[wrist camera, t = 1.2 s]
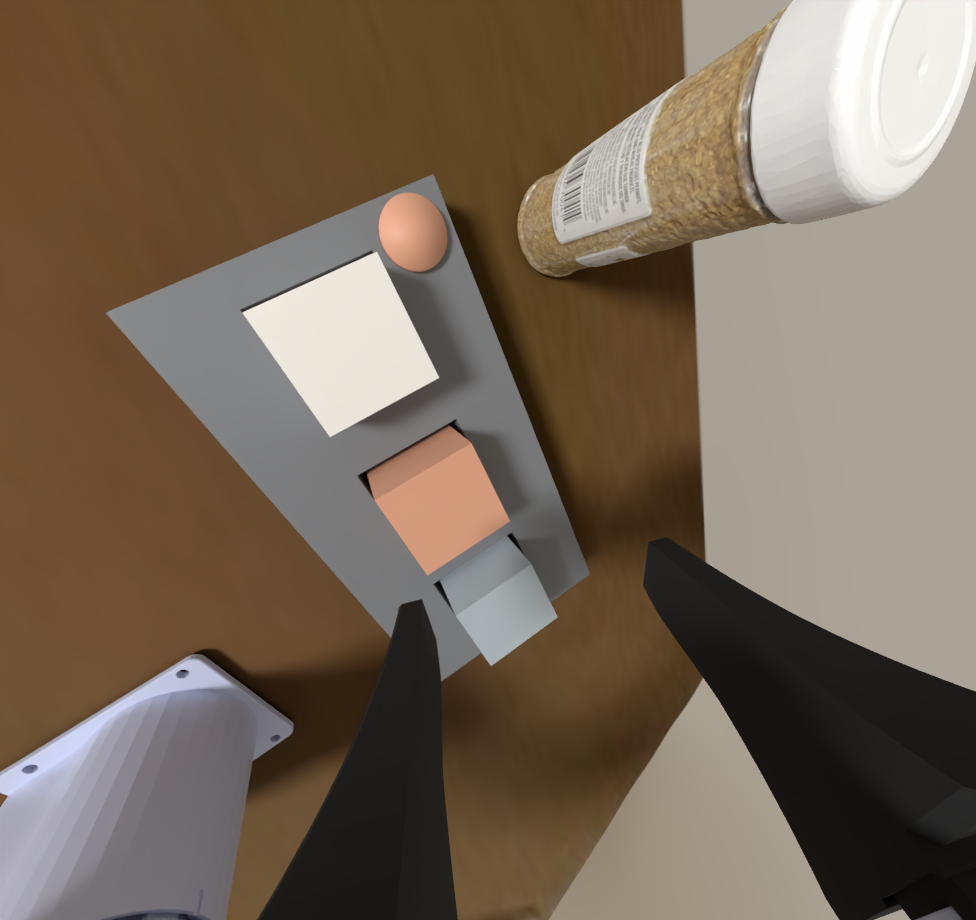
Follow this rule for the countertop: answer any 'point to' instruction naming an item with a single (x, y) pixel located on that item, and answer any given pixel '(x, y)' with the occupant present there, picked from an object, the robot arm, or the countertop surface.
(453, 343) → the console
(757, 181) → the spice jar
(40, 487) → the countertop surface
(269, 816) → the countertop surface
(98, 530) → the countertop surface
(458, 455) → the terracotta button
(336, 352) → the off-white button
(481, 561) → the grey button
